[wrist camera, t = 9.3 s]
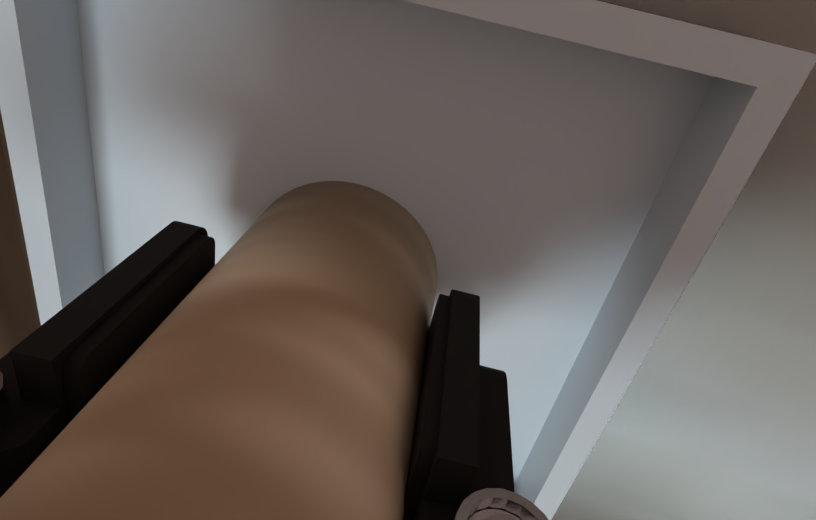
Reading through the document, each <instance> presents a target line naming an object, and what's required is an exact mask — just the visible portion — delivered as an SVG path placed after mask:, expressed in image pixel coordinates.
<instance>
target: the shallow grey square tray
mask: <svg viewBox="0 0 816 520" xmlns="http://www.w3.org/2000/svg"><path fill="white" fill-rule="evenodd" d="M815 63H816V54H814V53H810V52H806V51H802V50H798V49H794V48H790V47H786V46H781V45H777V44H773V43H769V42H765V41H761V40H757V39H753V38H749V37H745V36H741V35H736V34H732V33H728V32H724V31H720V30H716V29H712V28H708V27H704V26H700V25H696V24H691V23H687V22H683V21H679V20H675V19H671V18H667V17H663V16H659V15H655V14H651V13H647V12H642V11H638V10H634V9H630V8H626V7H622V6H618V5H614V4H610V3H606V2H602V1H597V0H0V109H1V115H2V120H3V125H4V131H5V136H6V142H7V147H8V152H9V158H10V163H11V168H12V174H13V179H14V184H15V190H16V195H17V200H18V206H19V211H20V216H21V222H22V227H23V232H24V238H25V243H26V249H27V254H28V259H29V265H30V270H31V275H32V281H33V286H34V291H35V297H36V302H37V307H38V313H39V318H40V323H41V325H43V324H44V323H45V322H46V321H48V320H49V319H50V318H51V317H53V316H54V315H55V314H56V313H58V312H59V311H60V310H62V309H63V308H64V307H65V306H67V305H68V304H69V303H70V302H72V301H73V300H74V299H75V298H77V297H78V296H79V295H80V294H82V293H83V292H84V291H85V290H87V289H88V288H89V287H90V286H92V285H93V284H94V283H96V282H97V281H98V280H99V279H101V278H102V277H103V276H104V275H106V274H107V273H108V272H109V271H111V270H112V269H113V268H114V267H116V266H117V265H118V264H119V263H121V262H122V261H123V260H125V259H126V258H127V257H128V256H130V255H131V254H132V253H133V252H135V251H136V250H137V249H138V248H140V247H141V246H142V245H143V244H145V243H146V242H147V241H148V240H150V239H151V238H152V237H153V236H155V235H156V234H157V233H159V232H160V231H161V230H162V229H164V228H165V227H166V226H167V225H169V224H170V223H171V222H173V221H179V222H183V223H187V224H191V225H195V226H199V227H203V228H205V229H206V230H207V233H208V236H209V237H213V238H214V240H215V265H216V264H217V263H218V262H219V260H220V259H221V258H222V257H223V256H224V255H225V254H226V253H227V252H228V251H229V250H230V249H231V247H232V246H233V245H234V244H235V243H236V242H237V241H238V240H239V239H240V238H241V237H242V236H243V234H244V233H245V232H246V231H247V230H248V229H249V228H250V227H251V226H252V225H253V224H254V223H255V221H256V220H257V219H258V218H259V217H260V216H261V215H262V214H263V213H264V212H265V211H266V210H267V208H268V207H269V206H270V205H271V204H272V203H273V202H274V201H275V200H277V199H278V198H279V197H281V196H282V195H284V194H285V193H287V192H289V191H291V190H293V189H295V188H297V187H300V186H303V185H306V184H310V183H315V182H322V181H343V182H350V183H355V184H360V185H363V186H366V187H369V188H372V189H374V190H376V191H379V192H381V193H383V194H385V195H386V196H388V197H390V198H391V199H393V200H395V201H396V202H397V203H399V204H400V205H401V206H402V207H404V208H405V209H406V210H407V211H408V212H409V213H410V214H411V215H412V216H413V217H414V218H415V219H416V220H417V222H418V223H419V224H420V226H421V227H422V228H423V230H424V232H425V233H426V235H427V237H428V238H429V241H430V243H431V245H432V248H433V251H434V254H435V258H436V264H437V286H436V292H435V299H434V306H433V313H434V310H435V306H436V303H437V300H438V296H439V294H443V295H447V296H449V295H450V292H451V290H452V289H454V290H458V291H462V292H466V293H470V294H474V295H478V296H480V365H481V366H485V367H489V368H493V369H497V370H501V371H504V372H505V373H506V376H507V385H508V401H509V416H510V431H511V447H512V462H513V477H514V492H515V493H518V494H519V495H521V496H523V497H524V498H526V499H528V500H529V501H531V502H532V503H533V504H534V505H536V506H537V507H538V508H539V509H540V510H541V511H542V512H543V513H544V514H545V515H546V517H547V518H548V520H551V519H552V518H553V516H554V514H555V513H556V511H557V509H558V507H559V506H560V504H561V502H562V500H563V499H564V497H565V495H566V494H567V492H568V490H569V488H570V487H571V485H572V483H573V481H574V480H575V478H576V476H577V475H578V473H579V471H580V469H581V468H582V466H583V464H584V462H585V461H586V459H587V457H588V455H589V454H590V452H591V450H592V449H593V447H594V445H595V443H596V442H597V440H598V438H599V436H600V435H601V433H602V431H603V430H604V428H605V426H606V424H607V423H608V421H609V419H610V417H611V416H612V414H613V412H614V411H615V409H616V407H617V405H618V404H619V402H620V400H621V398H622V397H623V395H624V393H625V392H626V390H627V388H628V386H629V385H630V383H631V381H632V379H633V378H634V376H635V374H636V373H637V371H638V369H639V367H640V366H641V364H642V362H643V360H644V359H645V357H646V355H647V354H648V352H649V350H650V348H651V347H652V345H653V343H654V341H655V340H656V338H657V336H658V335H659V333H660V331H661V329H662V328H663V326H664V324H665V322H666V321H667V319H668V317H669V315H670V314H671V312H672V310H673V309H674V307H675V305H676V303H677V302H678V300H679V298H680V296H681V295H682V293H683V291H684V290H685V288H686V286H687V284H688V283H689V281H690V279H691V277H692V276H693V274H694V272H695V271H696V269H697V267H698V265H699V264H700V262H701V260H702V258H703V257H704V255H705V253H706V252H707V250H708V248H709V246H710V245H711V243H712V241H713V239H714V238H715V236H716V234H717V233H718V231H719V229H720V227H721V226H722V224H723V222H724V220H725V219H726V217H727V215H728V214H729V212H730V210H731V208H732V207H733V205H734V203H735V201H736V200H737V198H738V196H739V195H740V193H741V191H742V189H743V188H744V186H745V184H746V182H747V181H748V179H749V177H750V176H751V174H752V172H753V170H754V169H755V167H756V165H757V163H758V162H759V160H760V158H761V156H762V155H763V153H764V151H765V150H766V148H767V146H768V144H769V143H770V141H771V139H772V137H773V136H774V134H775V132H776V131H777V129H778V127H779V125H780V124H781V122H782V120H783V118H784V117H785V115H786V113H787V112H788V110H789V108H790V106H791V105H792V103H793V101H794V99H795V98H796V96H797V94H798V93H799V91H800V89H801V87H802V86H803V84H804V82H805V80H806V79H807V77H808V75H809V74H810V72H811V70H812V68H813V67H814V65H815ZM433 313H432V317H433Z"/></svg>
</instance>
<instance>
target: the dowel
mask: <svg viewBox="0 0 816 520" xmlns="http://www.w3.org/2000/svg"><path fill="white" fill-rule="evenodd" d="M436 286H437V264H436V258H435V254H434V251H433V248H432V245H431V243H430V241H429V238H428V237H427V235H426V233H425V232H424V230H423V228H422V227H421V226H420V224H419V223H418V222H417V220H416V219H415V218H414V217H413V216H412V215H411V214H410V213H409V212H408V211H407V210H406V209H405V208H404V207H402V206H401V205H400V204H399V203H397V202H396V201H395V200H393V199H391V198H390V197H388V196H386V195H385V194H383V193H381V192H379V191H376V190H374V189H372V188H369V187H366V186H363V185H360V184H355V183H350V182H343V181H322V182H315V183H310V184H306V185H303V186H300V187H297V188H295V189H293V190H291V191H289V192H287V193H285V194H284V195H282V196H281V197H279V198H278V199H277V200H275V201H274V202H273V203H272V204H271V205H270V206H269V207H268V208H267V210H266V211H265V212H264V213H263V214H262V215H261V216H260V217H259V218H258V219H257V220H256V221H255V223H254V224H253V225H252V226H251V227H250V228H249V229H248V230H247V231H246V232H245V233H244V234H243V236H242V237H241V238H240V239H239V240H238V241H237V242H236V243H235V244H234V245H233V246H232V247H231V249H230V250H229V251H228V252H227V253H226V254H225V255H224V256H223V257H222V258H221V259H220V260H219V262H218V263H217V264H216V265H215V266H214V267H213V268H212V269H211V270H210V271H209V272H208V273H207V275H206V276H205V277H204V278H203V279H202V280H201V281H200V282H199V283H198V284H197V285H196V286H195V288H194V289H193V290H192V291H191V292H190V293H189V294H188V295H187V296H186V297H185V298H184V299H183V301H182V302H181V303H180V304H179V305H178V306H177V307H176V308H175V309H174V310H173V311H172V312H171V314H170V315H169V316H168V317H167V318H166V319H165V320H164V321H163V322H162V323H161V324H160V325H159V327H158V328H157V329H156V330H155V331H154V332H153V333H152V334H151V335H150V336H149V337H148V338H147V340H146V341H145V342H144V343H143V344H142V345H141V346H140V347H139V348H138V349H137V350H136V351H135V353H134V354H133V355H132V356H131V357H130V358H129V359H128V360H127V361H126V362H125V363H124V364H123V366H122V367H121V368H120V369H119V370H118V371H117V372H116V373H115V374H114V375H113V376H112V377H111V379H110V380H109V381H108V382H107V383H106V384H105V385H104V386H103V387H102V388H101V389H100V390H99V392H98V393H97V394H96V395H95V396H94V397H93V398H92V399H91V400H90V401H89V402H88V403H87V405H86V406H85V407H84V408H83V409H82V410H81V411H80V412H79V413H78V414H77V415H76V417H75V418H74V419H73V420H72V421H71V422H70V423H69V424H68V425H67V426H66V427H65V428H64V430H63V431H62V432H61V433H60V434H59V435H58V436H57V437H56V438H55V439H54V440H53V441H52V443H51V444H50V445H49V446H48V447H47V448H46V449H45V450H44V451H43V452H42V453H41V454H40V456H39V457H38V458H37V459H36V460H35V461H34V462H33V463H32V464H31V465H30V466H29V467H28V469H27V470H26V471H25V472H24V473H23V474H22V475H21V476H20V477H19V478H18V479H17V480H16V482H15V483H14V484H13V485H12V486H11V487H10V488H9V489H8V490H7V491H6V492H5V493H4V495H3V496H2V497H1V498H0V520H403V516H404V497H405V490H406V483H407V476H408V470H409V463H410V456H411V449H412V442H413V436H414V429H415V422H416V415H417V408H418V402H419V395H420V388H421V381H422V374H423V367H424V361H425V354H426V347H427V340H428V333H429V327H430V324H431V320H432V313H433V306H434V299H435V292H436Z"/></svg>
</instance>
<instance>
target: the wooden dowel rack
mask: <svg viewBox="0 0 816 520" xmlns="http://www.w3.org/2000/svg"><path fill="white" fill-rule="evenodd" d="M40 326H41V323H40V318H39V313H38V307H37V302H36V297H35V291H34V286H33V281H32V275H31V270H30V265H29V259H28V254H27V249H26V243H25V238H24V232H23V227H22V222H21V216H20V211H19V206H18V200H17V195H16V190H15V184H14V179H13V174H12V168H11V163H10V158H9V152H8V147H7V142H6V136H5V131H4V125H3V120H2V115H1V109H0V359H1V358H2V357H3V356H5V355H6V354H7V353H8V352H10V350H11V349H12V348H14V347H15V346H16V345H17V344H19V343H20V342H21V341H22V340H24V339H25V338H26V337H27V336H29V335H30V334H31V333H33V332H34V331H35V330H36V329H38V328H39V327H40Z"/></svg>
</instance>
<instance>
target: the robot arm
mask: <svg viewBox="0 0 816 520" xmlns="http://www.w3.org/2000/svg"><path fill="white" fill-rule="evenodd" d="M214 266H215V240H214V238H213V237H209V236H208V233H207V230H206V229H205V228H203V227H199V226H195V225H191V224H187V223H183V222H179V221H173V222H171V223H170V224H169V225H167V226H166V227H165V228H164V229H162V230H161V231H160V232H159V233H157V234H156V235H155V236H153V237H152V238H151V239H150V240H148V241H147V242H146V243H145V244H143V245H142V246H141V247H140V248H138V249H137V250H136V251H135V252H133V253H132V254H131V255H130V256H128V257H127V258H126V259H125V260H123V261H122V262H121V263H119V264H118V265H117V266H116V267H114V268H113V269H112V270H111V271H109V272H108V273H107V274H106V275H104V276H103V277H102V278H101V279H99V280H98V281H97V282H96V283H94V284H93V285H92V286H90V287H89V288H88V289H87V290H85V291H84V292H83V293H82V294H80V295H79V296H78V297H77V298H75V299H74V300H73V301H72V302H70V303H69V304H68V305H67V306H65V307H64V308H63V309H62V310H60V311H59V312H58V313H56V314H55V315H54V316H53V317H51V318H50V319H49V320H48V321H46V322H45V323H44V324H43V325H41V326H40V327H39V328H38V329H36V330H35V331H34V332H33V333H31V334H30V335H29V336H27V337H26V338H25V339H24V340H22V341H21V342H20V343H19V344H17V345H16V346H15V347H14V348H12V349H11V350H10V352H8V353H7V354H6V355H5V356H3V357H2V358H1V359H0V498H1V497H2V496H3V495H4V493H5V492H6V491H7V490H8V489H9V488H10V487H11V486H12V485H13V484H14V483H15V482H16V480H17V479H18V478H19V477H20V476H21V475H22V474H23V473H24V472H25V471H26V470H27V469H28V467H29V466H30V465H31V464H32V463H33V462H34V461H35V460H36V459H37V458H38V457H39V456H40V454H41V453H42V452H43V451H44V450H45V449H46V448H47V447H48V446H49V445H50V444H51V443H52V441H53V440H54V439H55V438H56V437H57V436H58V435H59V434H60V433H61V432H62V431H63V430H64V428H65V427H66V426H67V425H68V424H69V423H70V422H71V421H72V420H73V419H74V418H75V417H76V415H77V414H78V413H79V412H80V411H81V410H82V409H83V408H84V407H85V406H86V405H87V403H88V402H89V401H90V400H91V399H92V398H93V397H94V396H95V395H96V394H97V393H98V392H99V390H100V389H101V388H102V387H103V386H104V385H105V384H106V383H107V382H108V381H109V380H110V379H111V377H112V376H113V375H114V374H115V373H116V372H117V371H118V370H119V369H120V368H121V367H122V366H123V364H124V363H125V362H126V361H127V360H128V359H129V358H130V357H131V356H132V355H133V354H134V353H135V351H136V350H137V349H138V348H139V347H140V346H141V345H142V344H143V343H144V342H145V341H146V340H147V338H148V337H149V336H150V335H151V334H152V333H153V332H154V331H155V330H156V329H157V328H158V327H159V325H160V324H161V323H162V322H163V321H164V320H165V319H166V318H167V317H168V316H169V315H170V314H171V312H172V311H173V310H174V309H175V308H176V307H177V306H178V305H179V304H180V303H181V302H182V301H183V299H184V298H185V297H186V296H187V295H188V294H189V293H190V292H191V291H192V290H193V289H194V288H195V286H196V285H197V284H198V283H199V282H200V281H201V280H202V279H203V278H204V277H205V276H206V275H207V273H208V272H209V271H210V270H211V269H212V268H213V267H214ZM403 520H548V518H547V517H546V515H545V514H544V513H543V512H542V511H541V510H540V509H539V508H538V507H537V506H536V505H534V504H533V503H532V502H531V501H529V500H528V499H526V498H524V497H523V496H521V495H519V494H518V493H515V492H514V477H513V462H512V447H511V431H510V416H509V401H508V385H507V376H506V373H505V372H504V371H501V370H497V369H493V368H489V367H485V366H481V365H480V296H478V295H474V294H470V293H466V292H462V291H458V290H454V289H452V290H451V292H450V295H449V296H447V295H443V294H439V296H438V300H437V303H436V306H435V310H434V313H433V317H432V320H431V324H430V327H429V333H428V340H427V347H426V354H425V361H424V367H423V374H422V381H421V388H420V395H419V402H418V408H417V415H416V422H415V429H414V436H413V442H412V449H411V456H410V463H409V470H408V476H407V483H406V490H405V497H404V516H403Z"/></svg>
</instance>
